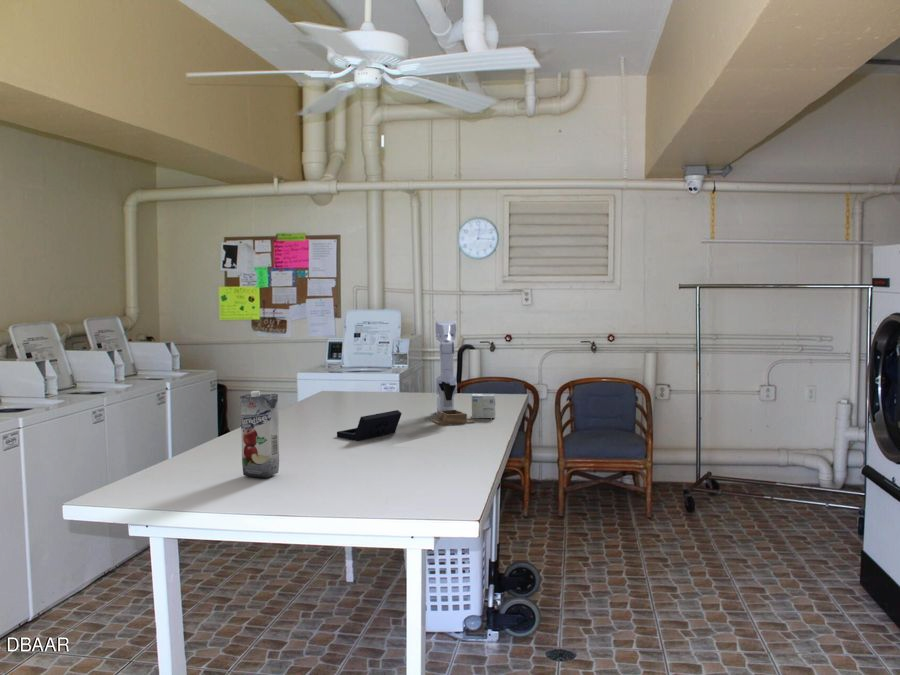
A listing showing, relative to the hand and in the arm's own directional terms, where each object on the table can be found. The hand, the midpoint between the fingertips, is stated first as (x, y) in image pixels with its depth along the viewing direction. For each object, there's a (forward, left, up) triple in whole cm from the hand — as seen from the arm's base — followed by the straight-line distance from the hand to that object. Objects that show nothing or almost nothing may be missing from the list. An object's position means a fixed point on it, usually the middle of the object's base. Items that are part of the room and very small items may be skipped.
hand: (447, 399), depth 327 cm
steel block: (0, 0, -3) cm, 3 cm away
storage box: (+18, -40, -10) cm, 45 cm away
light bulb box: (-3, +19, -10) cm, 22 cm away
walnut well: (+1, +2, -10) cm, 10 cm away
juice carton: (+68, -88, -10) cm, 111 cm away
